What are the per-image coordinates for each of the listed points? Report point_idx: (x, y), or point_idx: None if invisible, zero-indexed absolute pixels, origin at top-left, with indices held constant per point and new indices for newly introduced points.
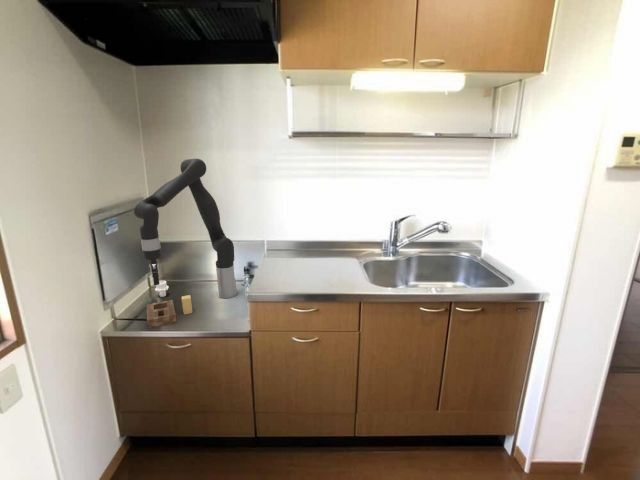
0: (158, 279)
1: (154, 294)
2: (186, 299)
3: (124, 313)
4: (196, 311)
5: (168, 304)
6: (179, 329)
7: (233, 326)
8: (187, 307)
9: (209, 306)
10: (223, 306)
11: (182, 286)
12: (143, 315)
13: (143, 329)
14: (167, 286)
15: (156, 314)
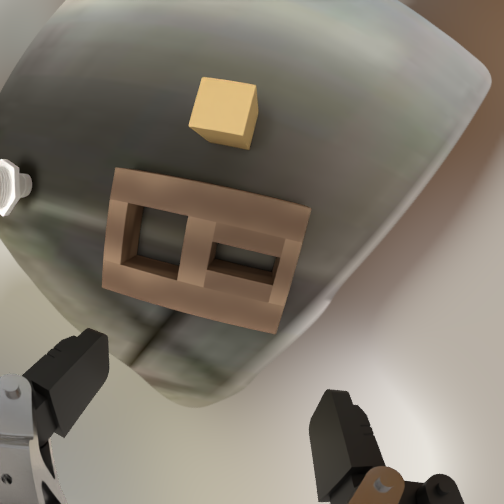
0: (360, 436)
1: None
2: (249, 111)
3: None
4: None
5: (158, 199)
6: (376, 220)
7: (460, 73)
8: (251, 124)
9: (246, 37)
10: (289, 2)
11: (8, 108)
12: None
13: None
14: (2, 163)
15: (241, 285)
